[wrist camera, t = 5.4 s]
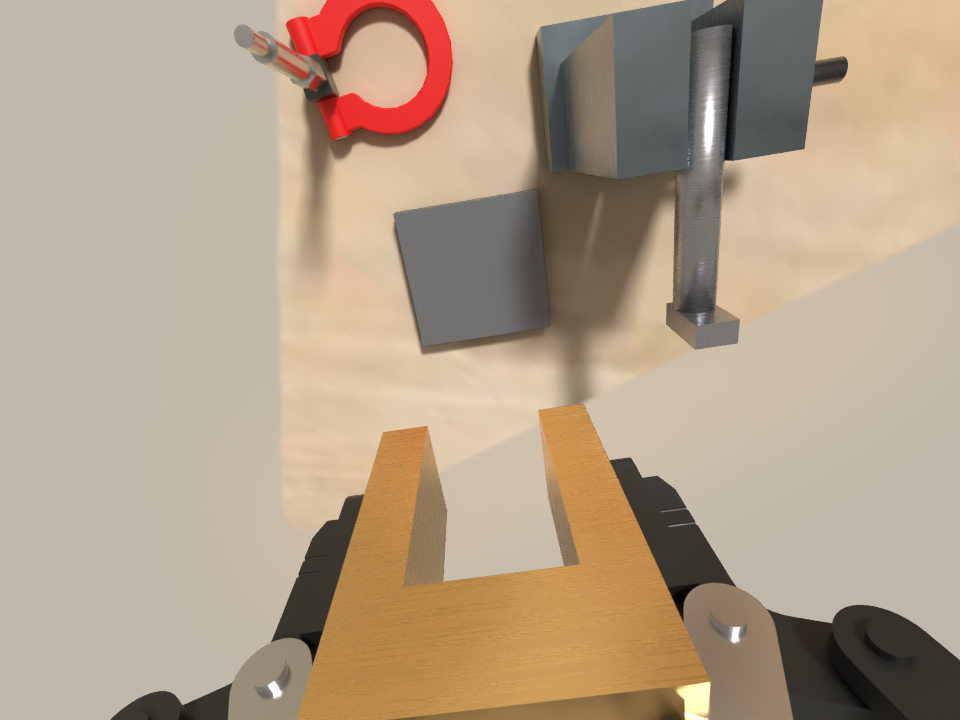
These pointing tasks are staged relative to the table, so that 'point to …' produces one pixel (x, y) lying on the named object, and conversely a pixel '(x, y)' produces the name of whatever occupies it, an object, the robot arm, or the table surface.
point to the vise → (683, 114)
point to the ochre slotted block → (502, 605)
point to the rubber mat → (475, 267)
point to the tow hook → (325, 41)
